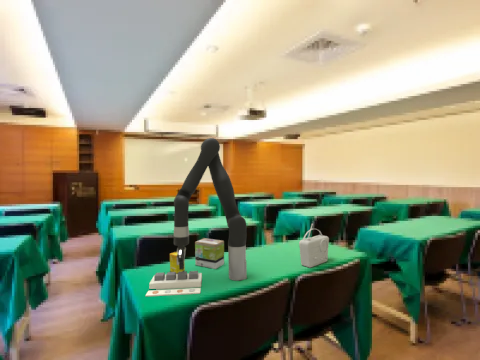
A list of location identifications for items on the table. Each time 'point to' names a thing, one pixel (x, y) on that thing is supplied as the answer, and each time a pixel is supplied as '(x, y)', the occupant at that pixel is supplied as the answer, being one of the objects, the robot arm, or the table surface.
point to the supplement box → (175, 263)
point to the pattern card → (173, 292)
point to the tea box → (209, 253)
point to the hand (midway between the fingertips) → (181, 269)
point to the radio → (313, 249)
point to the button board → (176, 283)
